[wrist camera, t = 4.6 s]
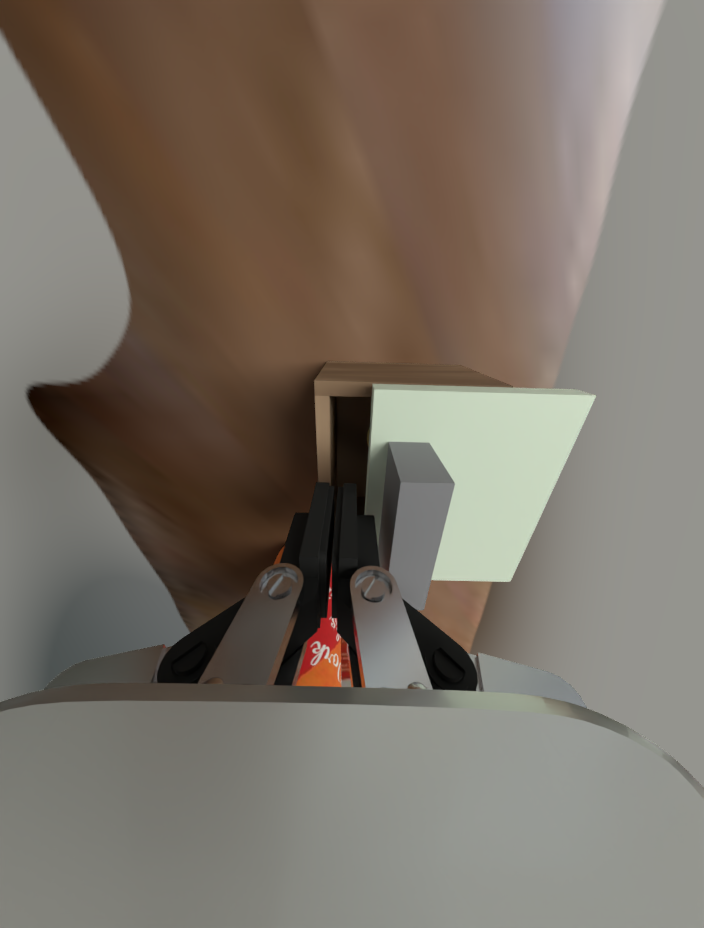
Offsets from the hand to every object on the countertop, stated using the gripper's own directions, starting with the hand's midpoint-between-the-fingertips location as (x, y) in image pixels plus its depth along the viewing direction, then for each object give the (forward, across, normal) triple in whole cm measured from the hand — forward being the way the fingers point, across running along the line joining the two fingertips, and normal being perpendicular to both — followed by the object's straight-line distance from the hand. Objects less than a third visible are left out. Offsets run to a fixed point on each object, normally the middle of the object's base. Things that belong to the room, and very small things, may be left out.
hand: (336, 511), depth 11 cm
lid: (+2, -5, 0) cm, 6 cm away
